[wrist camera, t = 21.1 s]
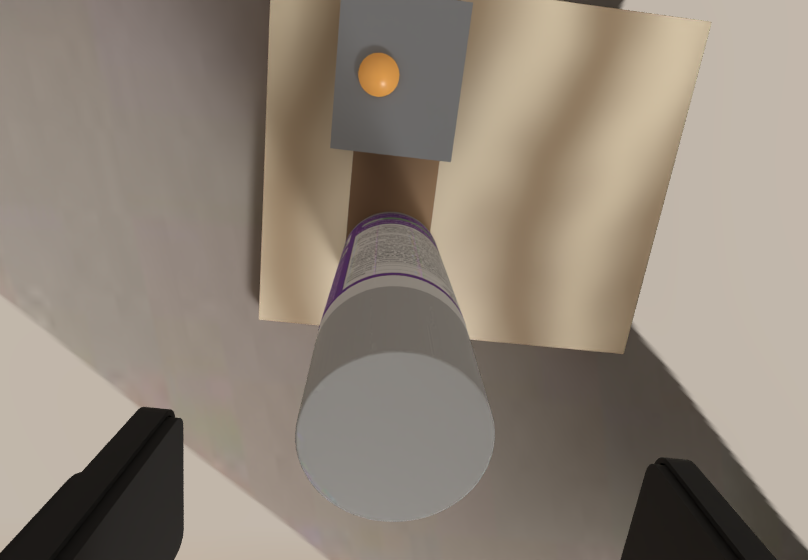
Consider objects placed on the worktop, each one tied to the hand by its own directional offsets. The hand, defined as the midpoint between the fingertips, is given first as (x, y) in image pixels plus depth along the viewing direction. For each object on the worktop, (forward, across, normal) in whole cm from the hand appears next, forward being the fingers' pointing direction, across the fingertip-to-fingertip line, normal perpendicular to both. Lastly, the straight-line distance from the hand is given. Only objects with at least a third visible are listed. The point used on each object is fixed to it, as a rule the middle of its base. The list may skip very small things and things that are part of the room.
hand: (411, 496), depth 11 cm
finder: (+16, +1, -9) cm, 18 cm away
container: (+16, +1, -1) cm, 17 cm away
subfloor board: (+18, -2, -5) cm, 18 cm away
